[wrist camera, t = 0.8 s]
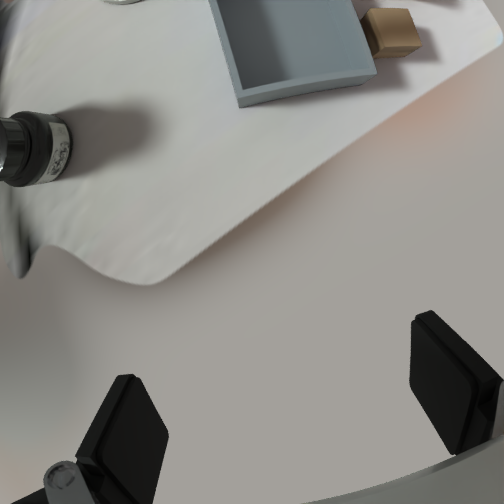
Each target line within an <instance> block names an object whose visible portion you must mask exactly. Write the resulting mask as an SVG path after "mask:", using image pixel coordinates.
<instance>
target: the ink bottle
mask: <svg viewBox="0 0 504 504" xmlns="http://www.w3.org/2000/svg"><path fill="white" fill-rule="evenodd" d="M72 146H73V141H72V135H71V132H70V129H69V127H68V126H67V124H66V123H65V122H64V121H63V120H62V119H60V118H59V117H57V116H54V115H49V114H43V113H36V112H30V111H22V112H18V113H15V114H13V115H12V116H11V117H9V118H2V117H0V181H4V182H5V183H7V184H8V185H10V186H13V187H25V186H31V185H36V184H42V183H48V182H51V181H53V180H55V179H56V178H58V177H59V176H60V175H61V174H62V172H63V171H64V170H65V168H66V166H67V164H68V162H69V160H70V157H71V153H72Z"/></svg>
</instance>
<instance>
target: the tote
mask: <svg viewBox="0 0 504 504" xmlns="http://www.w3.org/2000/svg"><path fill="white" fill-rule="evenodd" d="M209 4H210V7H211V10H212V14H213V17H214V21H215V24H216V27H217V31H218V34H219V38H220V41H221V45H222V48H223V52H224V55H225V59H226V62H227V66H228V69H229V73H230V76H231V80H232V83H233V87H234V91H235V94H236V98H237V101H238V105H239V108H242V107H246V106H250V105H254V104H259V103H263V102H267V101H272V100H276V99H281V98H286V97H291V96H296V95H301V94H306V93H312V92H318V91H324V90H330V89H336V88H343V87H350V86H357V85H361V84H363V83H364V82H366V81H367V80H369V79H370V78H372V77H374V76H375V75H377V70H376V67H375V64H374V61H373V58H372V55H371V52H370V49H369V46H368V43H367V40H366V38H365V35H364V32H363V30H362V27H361V24H360V22H359V19H358V16H357V14H356V11H355V9H354V7H353V4H352V2H351V0H209Z"/></svg>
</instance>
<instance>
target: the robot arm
mask: <svg viewBox="0 0 504 504" xmlns="http://www.w3.org/2000/svg"><path fill="white" fill-rule="evenodd" d="M102 1H104V2H106V3H109V4H117V5H119V4H129V3H133V2H137V1H140V0H102ZM409 381H410V382H409V383H410V387H411V390H412V391H413V393H414V395H415V396H416V398H417V400H418V401H419V403H420V404H421V406H422V408H423V409H424V411H425V413H426V414H427V416H428V417H429V419H430V421H431V423H432V424H433V425H434V428H435V429H436V431H437V433H438V434H439V436H440V438H441V439H442V441H443V442H444V445H445V446H446V448H447V450H448V451H449V453H450V454H451V455H454V454H455V455H456V456H454V457H452V458H450V459H447V460H445V461H443V462H440V463H438V464H436V465H433V466H431V467H428V468H425V469H423V470H420V471H418V472H415V473H412V474H410V475H407V476H404V477H401V478H399V479H396V480H393V481H390V482H387V483H384V484H380V485H377V486H374V487H370V488H367V489H364V490H360V491H357V492H353V493H349V494H345V495H341V496H336V497H332V498H328V499H323V500H318V501H314V502H309V503H303V504H504V380H503V379H502V378H501V377H500V376H499V374H498V373H497V372H496V371H495V370H494V369H493V368H492V367H491V366H490V365H489V364H488V363H487V362H486V361H485V360H484V359H483V358H482V357H481V356H480V355H479V354H478V353H477V352H476V351H475V350H474V349H473V348H472V347H471V346H470V345H469V344H468V343H467V342H466V341H464V340H463V339H462V338H461V337H460V336H459V335H458V334H457V333H456V332H455V331H454V330H453V329H452V328H451V327H450V326H449V325H447V323H445V322H444V321H443V320H442V319H441V318H440V317H439V316H438V315H437V314H436V313H435V312H434V311H432V310H430V311H427V312H424V313H421V314H418V315H416V317H415V320H413V321H412V322H411V357H410V378H409ZM168 438H169V434H168V430H167V428H166V426H165V424H164V423H163V421H162V419H161V417H160V415H159V414H158V412H157V410H156V408H155V406H154V404H153V402H152V400H151V399H150V396H149V395H148V393H147V391H146V389H145V387H144V385H143V383H142V381H141V379H140V378H138V377H136V376H135V375H134V374H126V375H118V376H117V377H116V379H115V381H114V382H113V384H112V386H111V388H110V390H109V392H108V393H107V395H106V397H105V399H104V401H103V403H102V405H101V406H100V408H99V410H98V412H97V414H96V416H95V418H94V420H93V422H92V424H91V426H90V427H89V430H88V431H87V433H86V435H85V437H84V439H83V441H82V443H81V445H80V447H79V449H78V451H77V453H76V455H75V457H76V458H77V462H76V464H75V463H73V462H71V461H61V462H58V463H56V464H54V465H53V466H51V467H50V468H49V469H48V470H47V471H46V473H45V475H44V479H43V483H44V488H42V489H40V490H38V491H36V492H34V493H32V494H30V495H28V496H26V497H24V498H22V499H20V500H18V501H15V502H13V503H12V504H152V503H153V499H154V495H155V491H156V487H157V483H158V478H159V475H160V470H161V466H162V462H163V458H164V454H165V450H166V447H167V442H168Z"/></svg>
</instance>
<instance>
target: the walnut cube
mask: <svg viewBox="0 0 504 504" xmlns="http://www.w3.org/2000/svg"><path fill="white" fill-rule="evenodd" d="M359 22H360V24H361V27H362V30H363V32H364V35H365V38H366V40H367V43H368V46H369V49H370V52H371V55H372V58H373V59H377V58H391V57H405V56H407V55H408V54H410V53H411V52H413V51H415V50H416V49H418V48H420V47H421V46H422V44H421V41H420V38H419V35H418V33H417V30H416V28H415V25H414V22H413V20H412V17H411V15H410V13H409V10H408V9H401V8H370V9H369V11H368V12H367V13H366V14H365V15H364V17H363V18H362V19H361V20H360V21H359Z"/></svg>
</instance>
